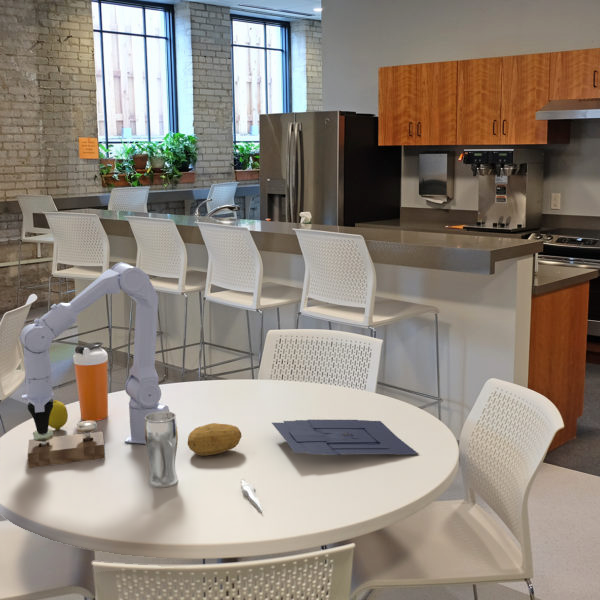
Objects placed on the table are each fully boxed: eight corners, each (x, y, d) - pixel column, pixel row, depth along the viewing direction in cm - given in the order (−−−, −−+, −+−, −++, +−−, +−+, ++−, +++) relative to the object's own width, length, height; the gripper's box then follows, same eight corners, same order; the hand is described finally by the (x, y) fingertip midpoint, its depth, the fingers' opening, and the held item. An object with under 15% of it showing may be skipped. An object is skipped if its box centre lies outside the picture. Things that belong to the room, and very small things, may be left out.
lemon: (55, 435, 206) (52, 405, 204) (42, 430, 209) (39, 401, 207) (73, 429, 210) (71, 399, 208) (60, 424, 213) (57, 395, 212)
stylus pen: (236, 486, 174) (236, 478, 174) (248, 484, 175) (248, 476, 175) (255, 516, 160) (255, 507, 160) (268, 514, 161) (268, 505, 161)
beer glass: (165, 491, 172) (161, 423, 169) (140, 484, 175) (136, 418, 172) (186, 479, 178) (183, 414, 175) (162, 472, 181) (158, 408, 178)
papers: (268, 430, 203) (269, 416, 203) (378, 430, 212) (380, 417, 212) (295, 467, 180) (297, 451, 180) (418, 465, 189) (420, 450, 189)
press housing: (103, 445, 198) (102, 431, 198) (105, 458, 190) (104, 444, 189) (30, 453, 194) (28, 439, 193) (28, 467, 185) (27, 453, 185)
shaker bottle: (118, 414, 220) (114, 343, 216) (94, 424, 213) (89, 350, 209) (95, 409, 225) (90, 339, 221) (70, 418, 218) (65, 346, 214)
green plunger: (54, 445, 193) (52, 427, 192) (54, 452, 189) (52, 434, 188) (34, 448, 191) (33, 430, 191) (34, 454, 187) (32, 436, 186)
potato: (189, 446, 197) (188, 419, 195) (242, 444, 197) (241, 417, 196) (186, 461, 188) (185, 432, 186) (241, 459, 188) (240, 431, 187)
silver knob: (97, 437, 195) (96, 419, 194) (98, 443, 191) (96, 425, 190) (78, 439, 194) (77, 421, 193) (78, 446, 190) (77, 427, 189)
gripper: (21, 369, 192) (26, 423, 195) (18, 386, 179) (23, 445, 181) (52, 366, 194) (56, 420, 197) (52, 383, 180) (56, 441, 183)
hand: (42, 432), depth 189 cm, fingers closed, pressing on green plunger
